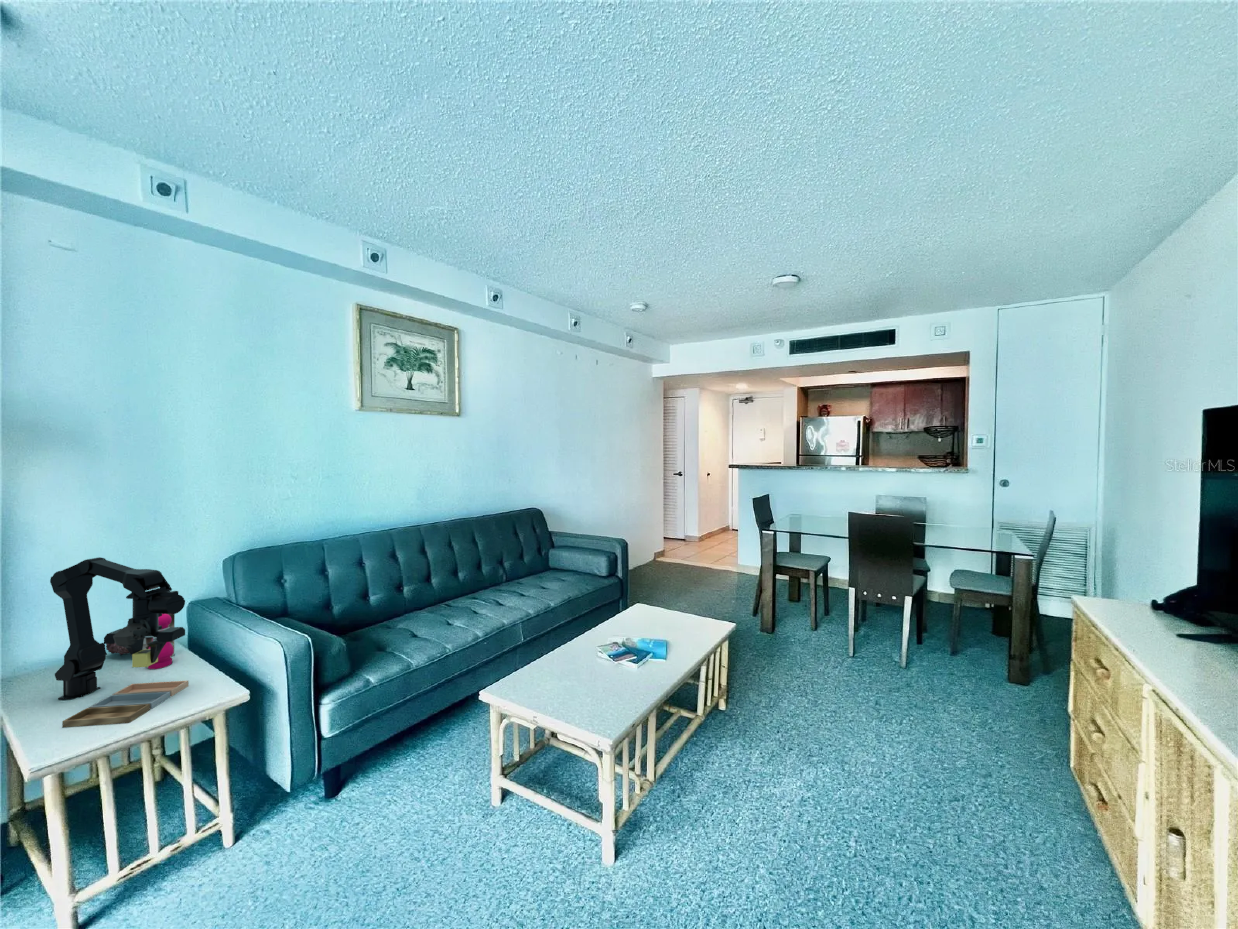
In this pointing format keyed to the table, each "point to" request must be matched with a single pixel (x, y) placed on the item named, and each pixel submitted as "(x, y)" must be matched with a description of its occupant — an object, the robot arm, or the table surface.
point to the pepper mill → (168, 649)
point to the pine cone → (116, 649)
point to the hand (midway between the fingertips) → (145, 662)
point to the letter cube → (142, 659)
